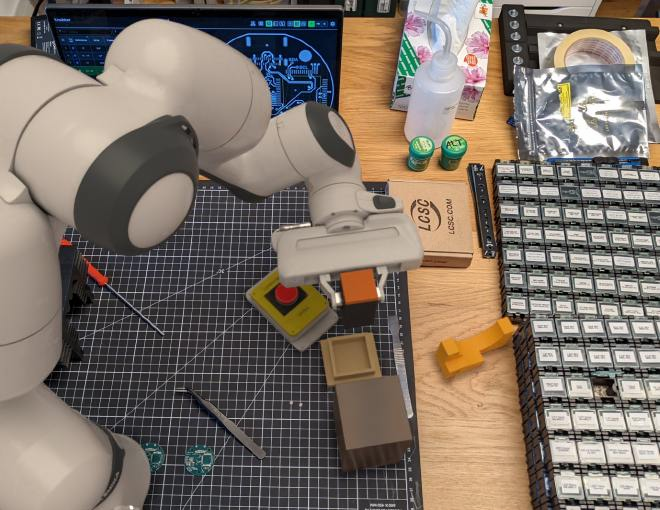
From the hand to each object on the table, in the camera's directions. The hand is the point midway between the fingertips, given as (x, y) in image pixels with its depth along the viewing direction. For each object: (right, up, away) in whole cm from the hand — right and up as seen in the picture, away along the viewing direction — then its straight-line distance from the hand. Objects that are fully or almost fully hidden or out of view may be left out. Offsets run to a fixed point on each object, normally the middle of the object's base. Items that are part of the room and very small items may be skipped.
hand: (359, 304), depth 82 cm
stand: (+2, -22, +15) cm, 27 cm away
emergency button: (-11, -3, +26) cm, 28 cm away
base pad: (0, -11, +22) cm, 24 cm away
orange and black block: (0, -2, +5) cm, 5 cm away
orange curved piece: (+20, -10, +22) cm, 32 cm away
